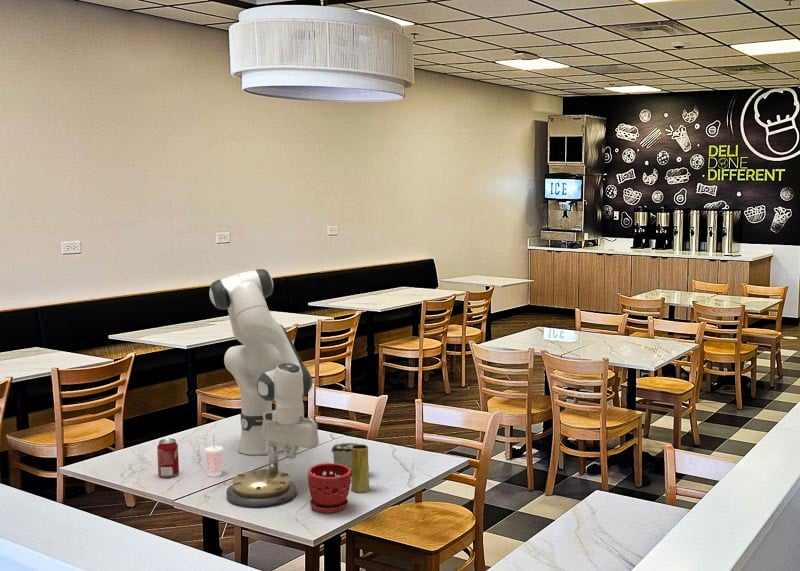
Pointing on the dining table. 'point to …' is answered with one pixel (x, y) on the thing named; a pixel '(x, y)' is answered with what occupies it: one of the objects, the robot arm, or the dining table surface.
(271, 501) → the grey round ring
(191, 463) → the dining table surface
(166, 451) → the soda can
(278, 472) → the tan disc with rod
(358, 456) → the vase
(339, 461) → the food container
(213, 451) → the beverage cup
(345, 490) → the plant pot
